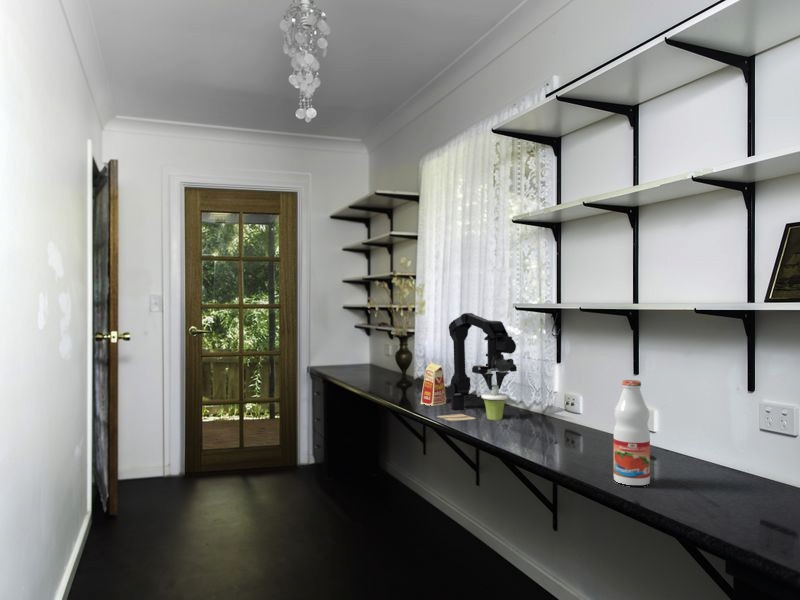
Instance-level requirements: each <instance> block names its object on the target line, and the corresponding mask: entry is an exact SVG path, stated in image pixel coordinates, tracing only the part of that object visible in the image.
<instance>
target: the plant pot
mask: <svg viewBox="0 0 800 600" xmlns="http://www.w3.org/2000/svg"><path fill="white" fill-rule="evenodd" d="M482 399H483V398H482ZM483 401H484V406H485V410H486V411H485V412H486V419H488V420H493V421H498V420H499V421H500V420H502V419H503V417H504V416H503V415H504V408H505V403H506V401H507V399H505V400H487V399H483Z"/></svg>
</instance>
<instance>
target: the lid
mask: <svg viewBox="0 0 800 600" xmlns="http://www.w3.org/2000/svg"><path fill="white" fill-rule="evenodd" d="M499 391H500V389H499V385H497V384H492V389H491V390H490V392H484V393H481V394H480V396H481V397H480V398H481V399H487V400H505V399H506V400H508V399H509V395H508V394H507V393H501V392H499Z"/></svg>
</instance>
